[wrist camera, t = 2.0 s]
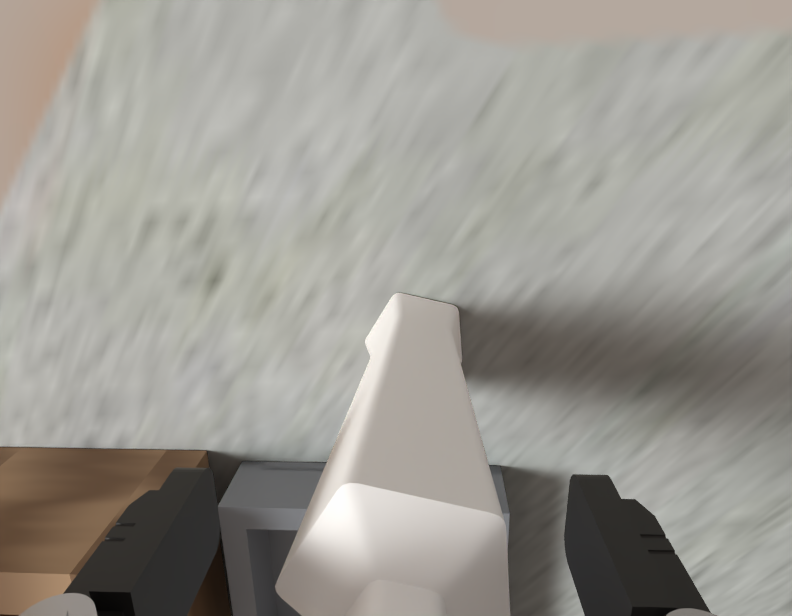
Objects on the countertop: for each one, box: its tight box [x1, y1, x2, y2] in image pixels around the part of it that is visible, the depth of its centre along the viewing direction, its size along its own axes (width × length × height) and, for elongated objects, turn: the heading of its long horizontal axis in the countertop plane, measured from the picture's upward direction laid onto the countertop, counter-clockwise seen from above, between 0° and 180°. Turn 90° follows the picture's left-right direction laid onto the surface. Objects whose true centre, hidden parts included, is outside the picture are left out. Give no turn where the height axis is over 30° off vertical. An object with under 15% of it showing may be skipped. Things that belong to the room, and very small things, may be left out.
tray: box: [218, 461, 510, 616], centre depth 24 cm, size 11×11×3 cm
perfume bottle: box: [275, 293, 510, 616], centre depth 15 cm, size 5×4×15 cm
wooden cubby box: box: [0, 447, 231, 616], centre depth 23 cm, size 10×10×7 cm
